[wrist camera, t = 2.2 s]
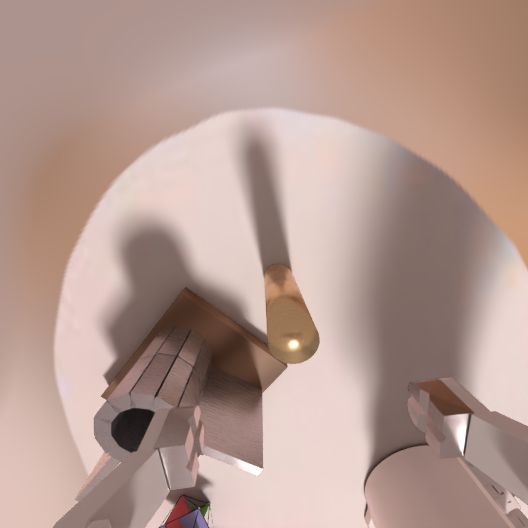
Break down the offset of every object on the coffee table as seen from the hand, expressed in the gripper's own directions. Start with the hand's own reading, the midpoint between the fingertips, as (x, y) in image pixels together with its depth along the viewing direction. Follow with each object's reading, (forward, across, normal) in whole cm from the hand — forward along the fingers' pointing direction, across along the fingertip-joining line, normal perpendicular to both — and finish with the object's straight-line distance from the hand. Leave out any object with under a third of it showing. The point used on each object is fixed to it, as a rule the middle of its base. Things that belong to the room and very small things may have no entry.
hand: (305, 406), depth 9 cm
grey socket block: (+15, +11, +12) cm, 22 cm away
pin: (+17, -1, 0) cm, 17 cm away
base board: (+17, +10, +11) cm, 23 cm away
